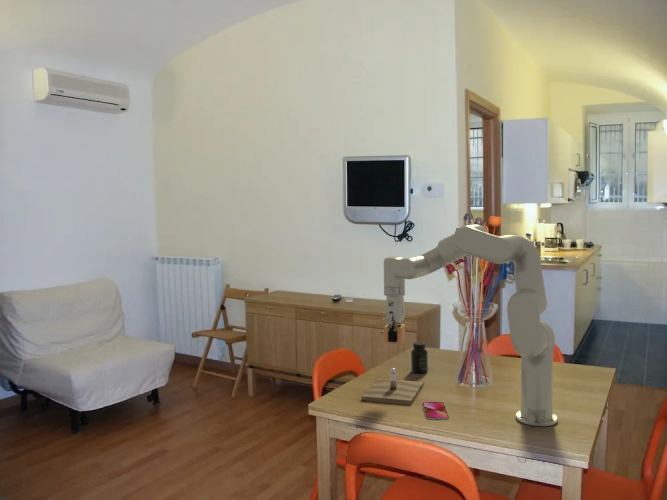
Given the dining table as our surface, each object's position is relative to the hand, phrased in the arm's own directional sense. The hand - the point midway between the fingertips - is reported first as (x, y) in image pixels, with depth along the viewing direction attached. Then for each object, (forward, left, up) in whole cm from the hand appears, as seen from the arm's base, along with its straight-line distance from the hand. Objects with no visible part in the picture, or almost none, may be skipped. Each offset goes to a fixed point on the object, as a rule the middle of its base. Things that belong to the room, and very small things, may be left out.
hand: (394, 339), depth 216 cm
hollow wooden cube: (0, 0, -1) cm, 1 cm away
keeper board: (0, +1, -20) cm, 20 cm away
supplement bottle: (+29, -3, -20) cm, 36 cm away
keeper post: (0, +1, -19) cm, 19 cm away
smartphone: (-15, -17, -21) cm, 31 cm away
